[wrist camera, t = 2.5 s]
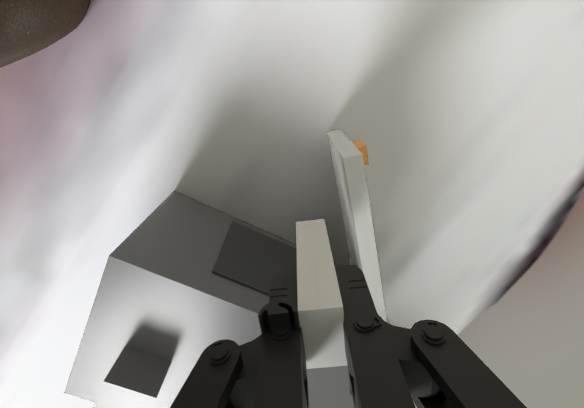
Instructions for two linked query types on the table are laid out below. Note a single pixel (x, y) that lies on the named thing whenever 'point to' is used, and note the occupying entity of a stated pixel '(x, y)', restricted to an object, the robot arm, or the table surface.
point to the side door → (357, 210)
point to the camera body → (182, 307)
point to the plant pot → (36, 25)
